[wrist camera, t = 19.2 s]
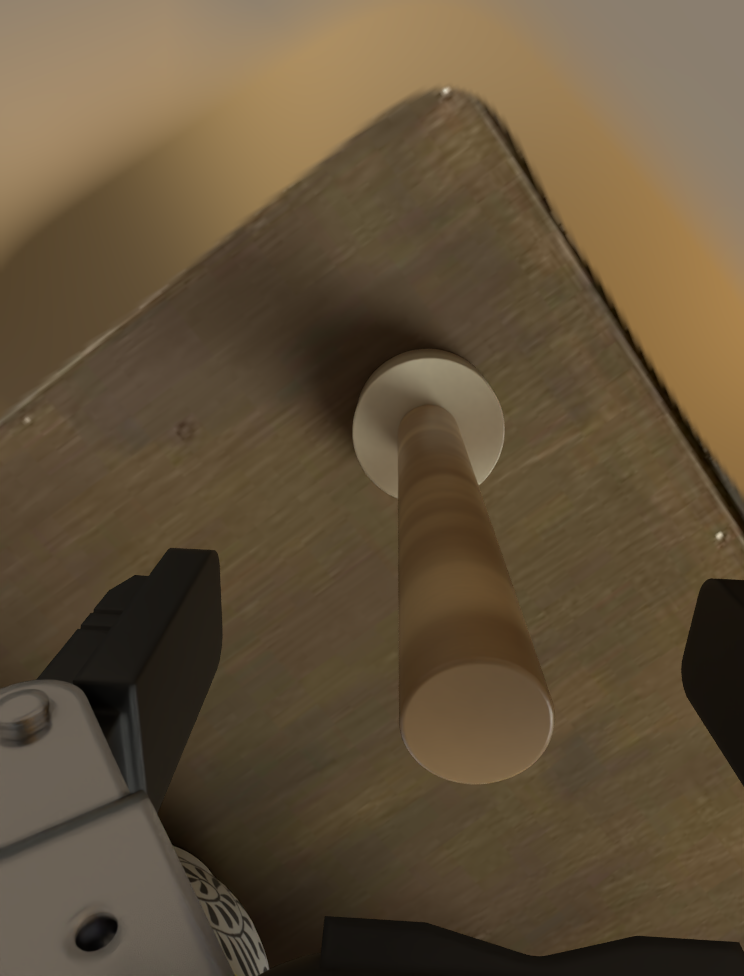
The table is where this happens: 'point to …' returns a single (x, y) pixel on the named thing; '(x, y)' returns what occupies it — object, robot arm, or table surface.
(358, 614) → the table surface
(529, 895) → the table surface
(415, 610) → the wooden peg stand
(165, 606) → the robot arm
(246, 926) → the bowl
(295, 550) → the table surface
